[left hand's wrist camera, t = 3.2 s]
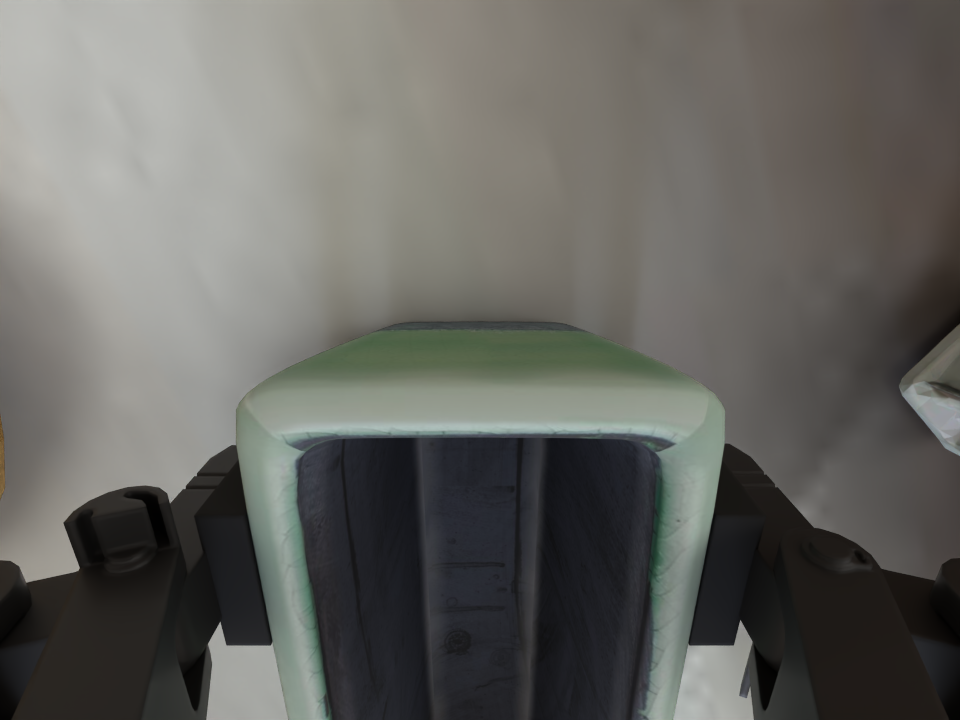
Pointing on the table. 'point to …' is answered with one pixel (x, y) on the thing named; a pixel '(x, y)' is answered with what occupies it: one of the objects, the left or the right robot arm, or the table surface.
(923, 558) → the table surface
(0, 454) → the potato
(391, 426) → the planter
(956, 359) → the tape dispenser
